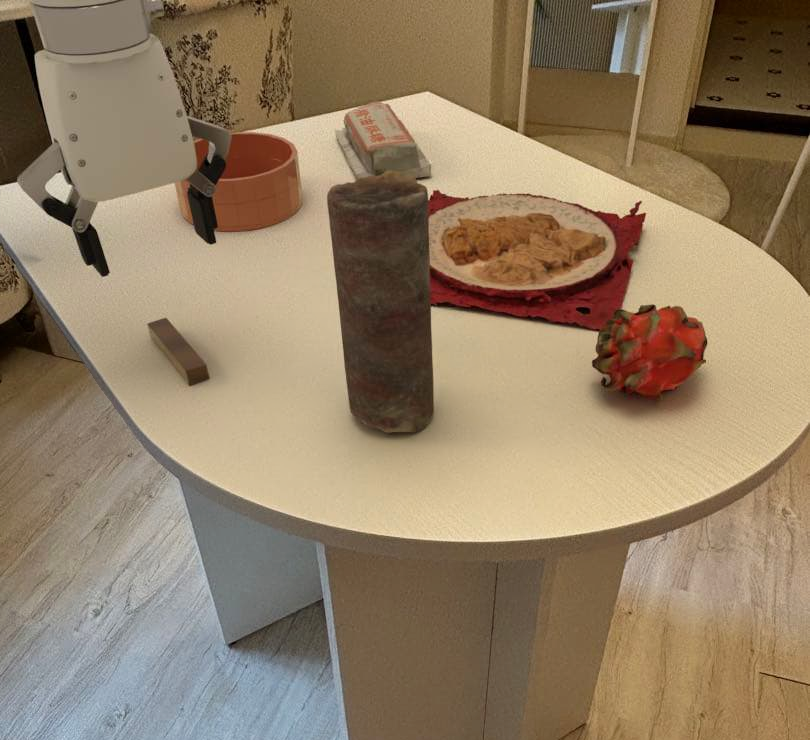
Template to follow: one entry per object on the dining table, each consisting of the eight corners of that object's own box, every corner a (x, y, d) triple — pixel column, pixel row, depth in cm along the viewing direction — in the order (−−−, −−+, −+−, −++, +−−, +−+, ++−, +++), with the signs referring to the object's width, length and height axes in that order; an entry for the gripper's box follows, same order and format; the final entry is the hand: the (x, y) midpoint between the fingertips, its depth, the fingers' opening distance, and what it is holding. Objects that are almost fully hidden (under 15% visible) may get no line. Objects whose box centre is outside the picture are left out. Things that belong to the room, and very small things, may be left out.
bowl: (155, 211, 100) (143, 161, 95) (242, 171, 108) (235, 123, 103) (241, 243, 93) (231, 191, 89) (326, 198, 101) (322, 148, 97)
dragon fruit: (574, 415, 72) (675, 395, 76) (638, 409, 64) (747, 387, 69) (562, 318, 70) (666, 304, 75) (626, 301, 62) (737, 286, 67)
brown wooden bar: (150, 337, 79) (146, 323, 78) (169, 331, 80) (166, 317, 79) (189, 385, 73) (185, 371, 72) (209, 378, 74) (206, 364, 73)
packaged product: (433, 139, 101) (356, 148, 100) (433, 178, 105) (359, 187, 103) (400, 94, 113) (331, 101, 112) (401, 130, 117) (334, 138, 115)
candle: (348, 443, 67) (326, 207, 53) (345, 391, 72) (325, 164, 58) (438, 436, 67) (440, 201, 53) (429, 386, 72) (429, 158, 58)
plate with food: (434, 205, 100) (434, 177, 97) (644, 225, 93) (649, 195, 91) (369, 301, 84) (366, 270, 82) (614, 332, 78) (619, 301, 75)
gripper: (186, -4, 62) (228, 213, 74) (-44, 36, 56) (43, 266, 68) (226, 15, 58) (263, 242, 70) (-19, 61, 51) (69, 301, 64)
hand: (155, 254), depth 69 cm, fingers open, 9 cm apart
